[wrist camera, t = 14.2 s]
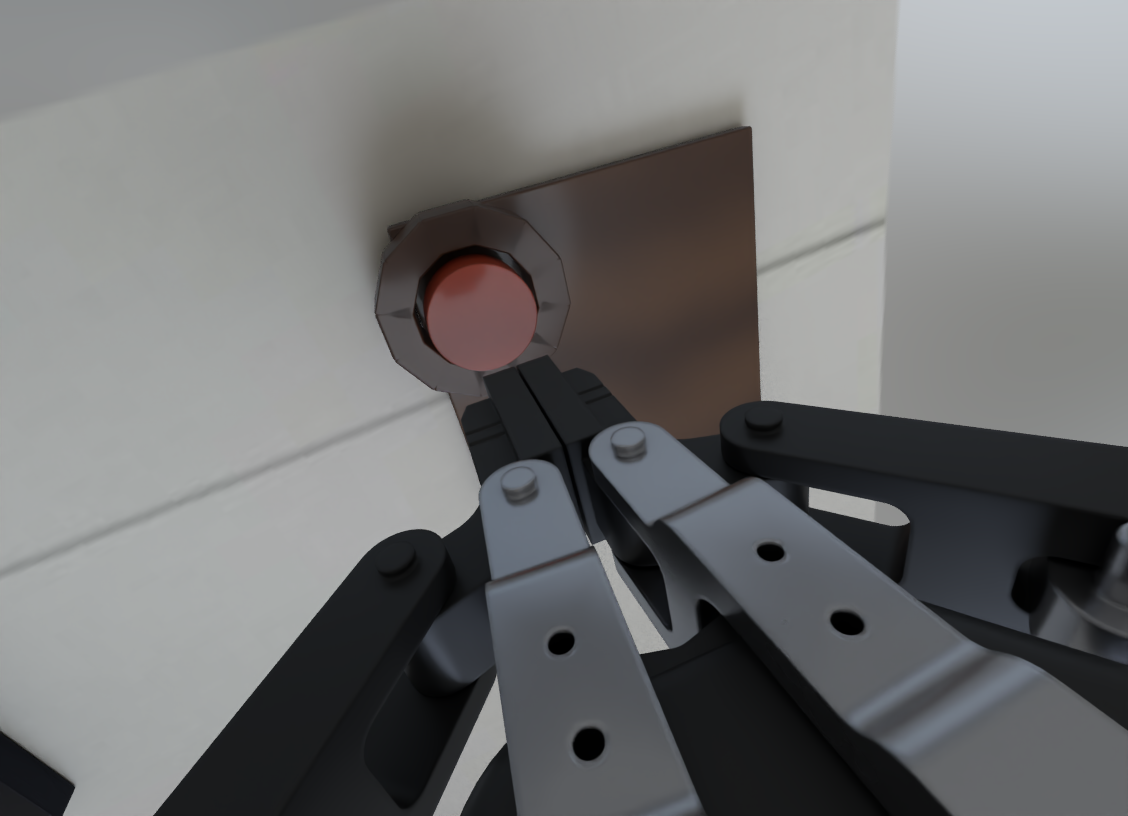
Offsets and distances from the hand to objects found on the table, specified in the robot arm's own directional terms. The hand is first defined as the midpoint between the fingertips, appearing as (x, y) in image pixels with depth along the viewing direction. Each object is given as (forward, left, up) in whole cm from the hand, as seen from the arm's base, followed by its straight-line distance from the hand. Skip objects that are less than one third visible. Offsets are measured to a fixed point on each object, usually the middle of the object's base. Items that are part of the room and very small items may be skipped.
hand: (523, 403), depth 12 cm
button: (0, 0, -8) cm, 8 cm away
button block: (+4, +5, -10) cm, 12 cm away
